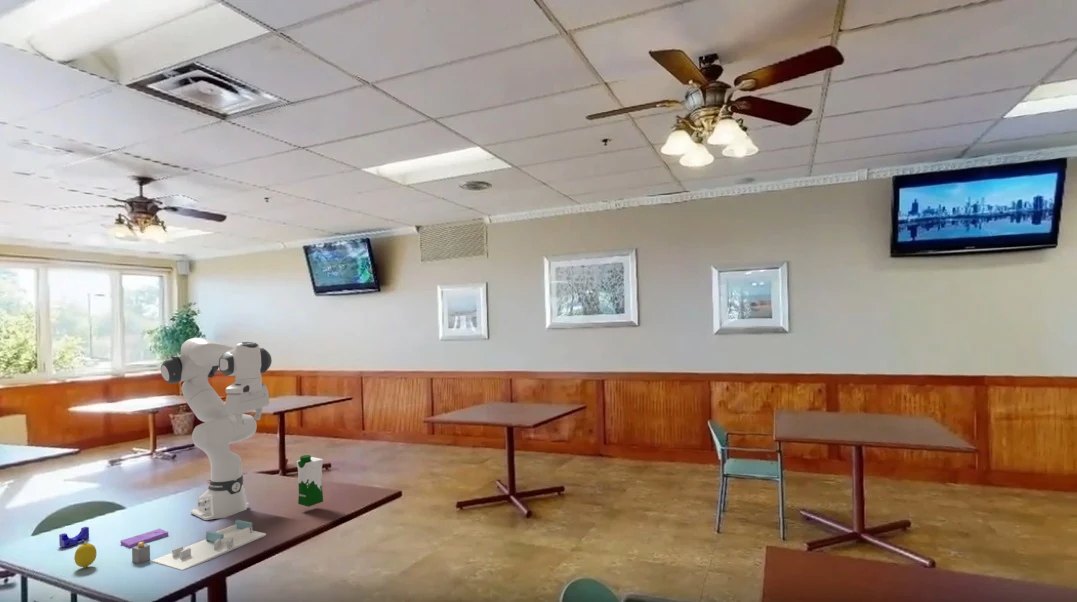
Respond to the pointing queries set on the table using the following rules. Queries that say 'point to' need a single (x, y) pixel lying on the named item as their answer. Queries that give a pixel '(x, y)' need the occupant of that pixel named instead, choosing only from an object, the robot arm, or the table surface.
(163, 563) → the board
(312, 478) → the milk carton
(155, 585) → the table surface
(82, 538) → the cable holder
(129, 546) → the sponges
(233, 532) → the end holder
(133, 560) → the block
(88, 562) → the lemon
